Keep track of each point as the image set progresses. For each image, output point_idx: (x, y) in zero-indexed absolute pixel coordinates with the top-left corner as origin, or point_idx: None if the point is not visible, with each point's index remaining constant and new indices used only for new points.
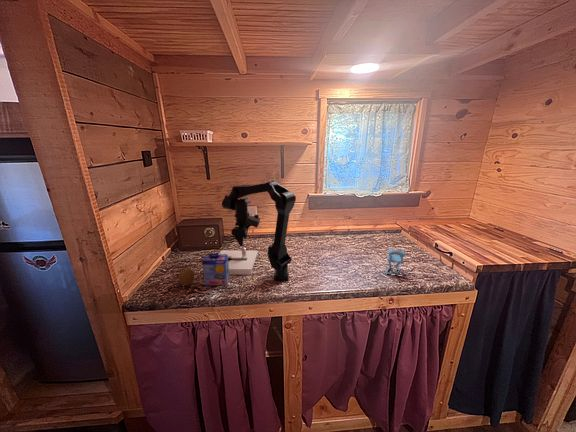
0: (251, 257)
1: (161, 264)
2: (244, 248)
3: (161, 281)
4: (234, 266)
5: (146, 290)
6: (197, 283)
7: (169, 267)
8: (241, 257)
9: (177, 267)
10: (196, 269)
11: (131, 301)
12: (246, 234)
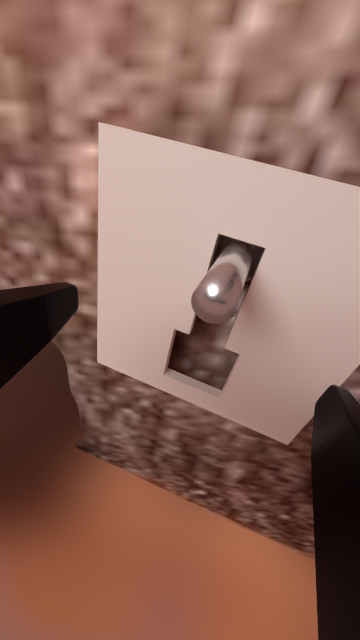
0: (223, 197)
1: (162, 488)
2: (232, 298)
3: (271, 513)
4: (328, 340)
5: (310, 542)
6: None
7: (185, 482)
8: (202, 277)
9: (191, 470)
10: (223, 440)
11: None
12: (18, 309)
